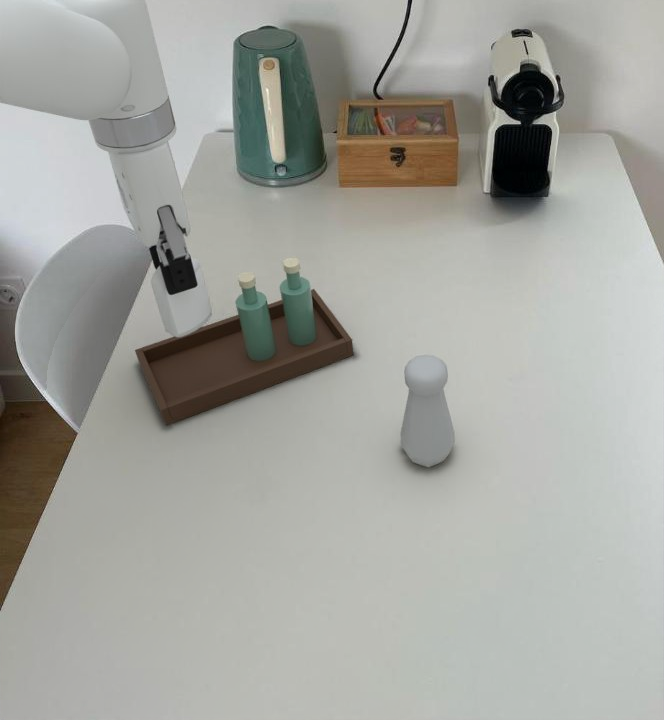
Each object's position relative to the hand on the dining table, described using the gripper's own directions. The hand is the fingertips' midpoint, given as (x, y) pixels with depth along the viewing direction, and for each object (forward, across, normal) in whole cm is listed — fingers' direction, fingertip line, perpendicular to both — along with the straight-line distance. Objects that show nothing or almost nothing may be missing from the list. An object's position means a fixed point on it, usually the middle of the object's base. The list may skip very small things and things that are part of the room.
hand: (176, 276), depth 88 cm
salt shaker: (+15, +24, +18) cm, 33 cm away
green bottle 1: (+14, 0, +8) cm, 16 cm away
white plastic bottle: (+7, 0, 0) cm, 7 cm away
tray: (+15, 0, +6) cm, 16 cm away
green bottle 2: (+14, 0, +13) cm, 19 cm away
